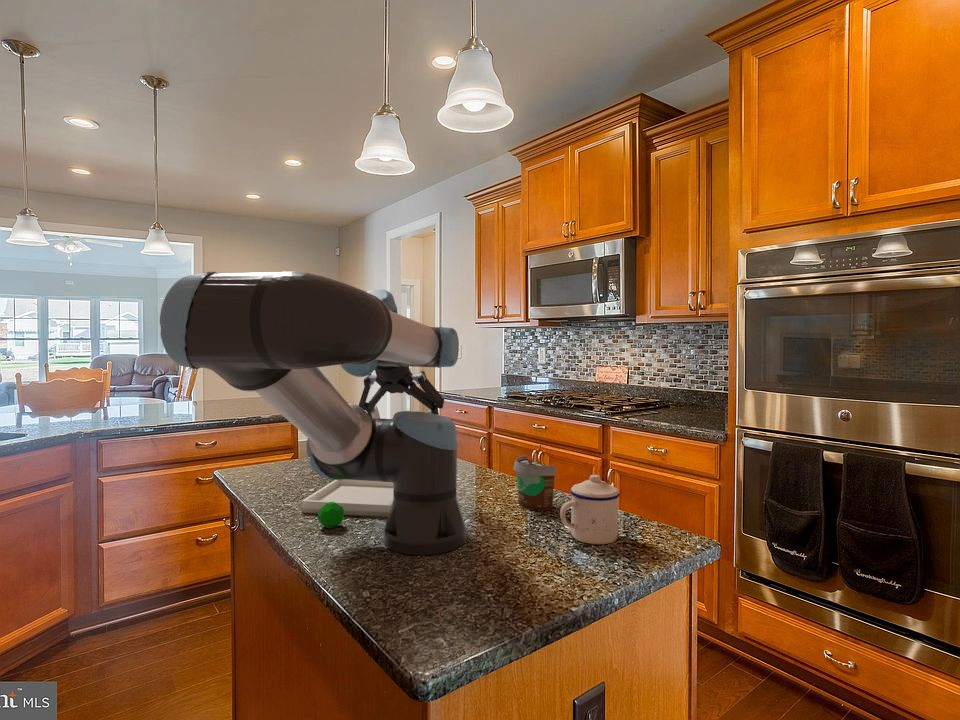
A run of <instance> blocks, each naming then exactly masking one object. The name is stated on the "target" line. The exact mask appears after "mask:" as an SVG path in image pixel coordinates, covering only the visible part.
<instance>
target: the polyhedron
mask: <svg viewBox="0 0 960 720" xmlns="http://www.w3.org/2000/svg"><path fill="white" fill-rule="evenodd" d="M344 517H345V515H344V510H343V507H342V506H340V505H338V504H337V503H335V502H328V503H326V504H325V505H324V506H322V507H321V508H320V510H319V513H317V519H318V522H319V524H321V525H322V526H324V527H325V528H328V529H333V528H334V527H335V528H336V527H338V526H339V525H340V524H341V523H342V522H343V520H344Z"/></svg>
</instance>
